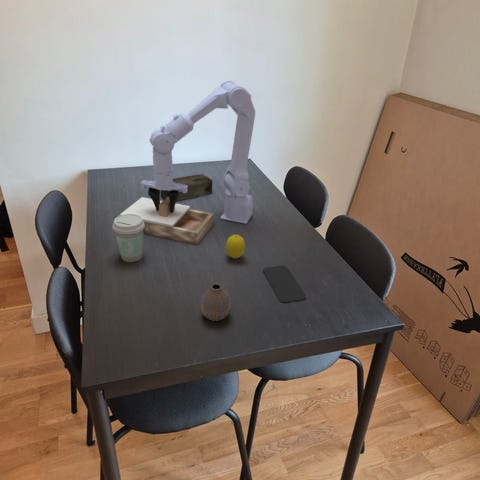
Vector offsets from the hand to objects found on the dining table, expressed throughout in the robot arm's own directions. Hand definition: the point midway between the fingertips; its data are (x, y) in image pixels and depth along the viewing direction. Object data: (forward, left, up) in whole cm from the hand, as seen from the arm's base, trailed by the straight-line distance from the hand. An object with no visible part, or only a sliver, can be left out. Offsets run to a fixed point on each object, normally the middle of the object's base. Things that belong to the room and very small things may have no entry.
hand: (165, 210), depth 125 cm
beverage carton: (+4, -25, -6) cm, 26 cm away
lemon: (-27, +10, -6) cm, 29 cm away
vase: (-30, +35, -6) cm, 46 cm away
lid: (+3, 0, -1) cm, 4 cm away
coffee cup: (+1, +20, -6) cm, 21 cm away
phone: (-43, +17, -6) cm, 47 cm away
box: (-5, 0, -6) cm, 8 cm away
